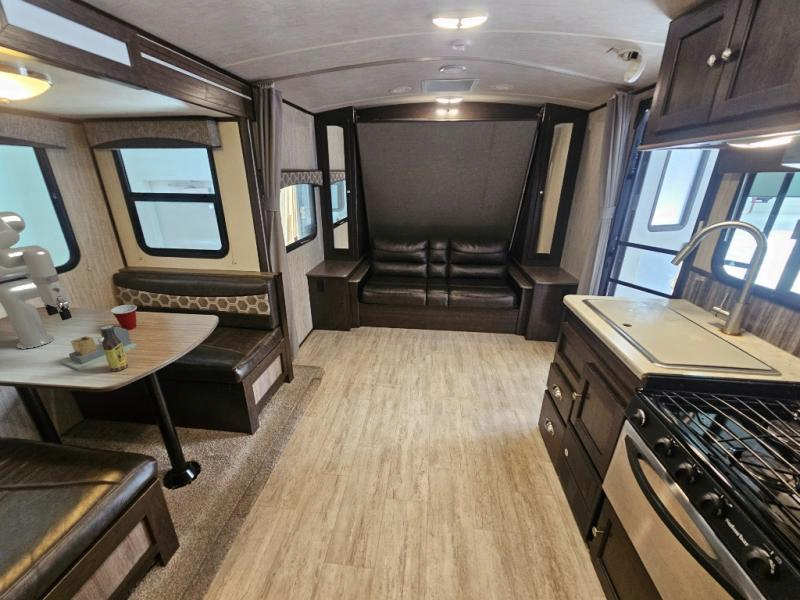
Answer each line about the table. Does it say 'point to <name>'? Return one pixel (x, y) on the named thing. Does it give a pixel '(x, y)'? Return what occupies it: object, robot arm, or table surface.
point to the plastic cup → (126, 316)
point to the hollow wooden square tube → (84, 345)
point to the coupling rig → (98, 352)
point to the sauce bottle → (113, 349)
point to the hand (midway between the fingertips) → (60, 316)
